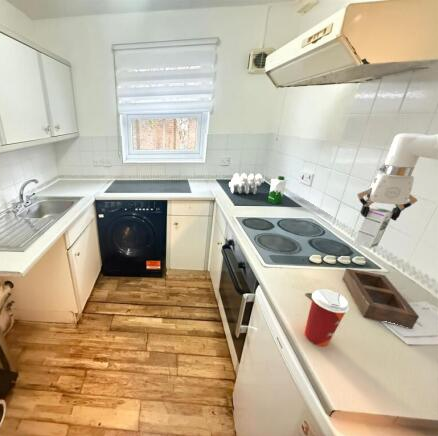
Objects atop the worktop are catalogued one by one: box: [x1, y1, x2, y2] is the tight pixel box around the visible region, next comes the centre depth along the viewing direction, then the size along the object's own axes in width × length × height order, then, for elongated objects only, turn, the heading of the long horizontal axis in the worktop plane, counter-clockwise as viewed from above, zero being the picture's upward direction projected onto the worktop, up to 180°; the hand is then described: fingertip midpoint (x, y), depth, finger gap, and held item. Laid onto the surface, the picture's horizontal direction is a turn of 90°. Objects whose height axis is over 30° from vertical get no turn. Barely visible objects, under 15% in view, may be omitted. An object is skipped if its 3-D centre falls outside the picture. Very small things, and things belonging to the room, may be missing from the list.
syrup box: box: [353, 206, 394, 249], centre depth 91 cm, size 6×6×14 cm
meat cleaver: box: [304, 292, 314, 300], centre depth 82 cm, size 12×1×5 cm
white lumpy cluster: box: [228, 172, 265, 195], centre depth 202 cm, size 18×18×25 cm
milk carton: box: [266, 175, 288, 206], centre depth 179 cm, size 9×9×20 cm
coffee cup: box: [304, 288, 350, 347], centre depth 67 cm, size 8×8×15 cm
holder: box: [342, 268, 420, 330], centre depth 83 cm, size 12×22×5 cm, turn 157°
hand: (377, 217), depth 89 cm, fingers closed on syrup box, 8 cm apart
